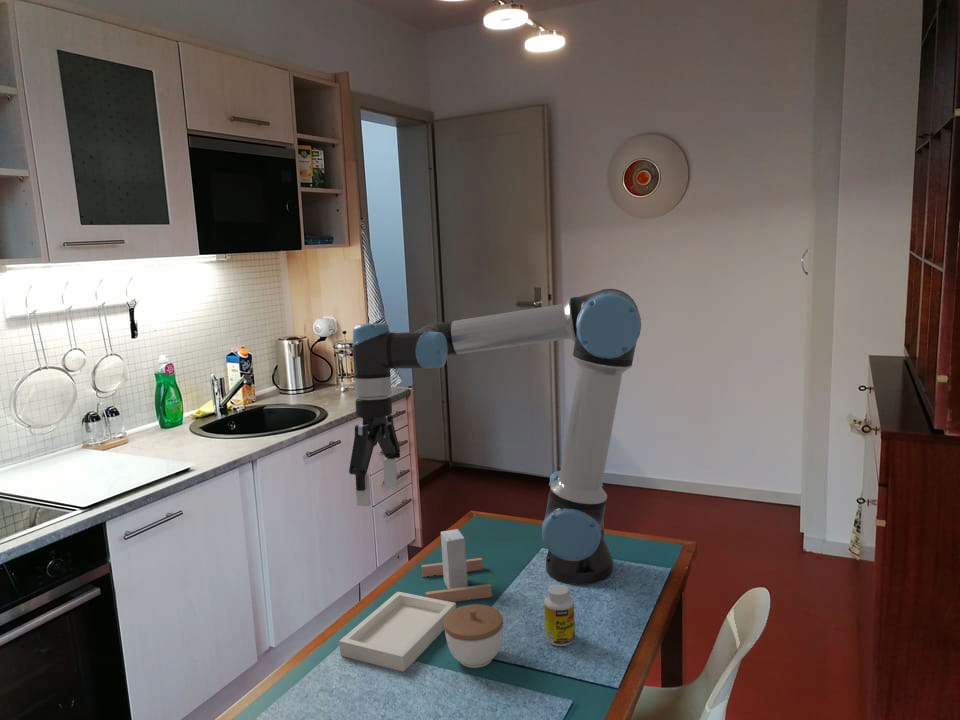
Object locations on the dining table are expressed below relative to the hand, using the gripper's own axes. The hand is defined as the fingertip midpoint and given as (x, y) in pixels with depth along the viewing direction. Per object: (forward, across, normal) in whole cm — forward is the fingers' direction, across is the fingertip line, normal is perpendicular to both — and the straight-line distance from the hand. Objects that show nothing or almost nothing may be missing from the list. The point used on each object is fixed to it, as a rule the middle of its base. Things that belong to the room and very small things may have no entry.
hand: (377, 496), depth 150 cm
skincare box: (+22, -9, +14) cm, 28 cm away
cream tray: (+24, +12, +9) cm, 28 cm away
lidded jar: (+24, +16, +26) cm, 39 cm away
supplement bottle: (+24, +8, +40) cm, 47 cm away
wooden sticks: (+22, -9, +14) cm, 28 cm away
